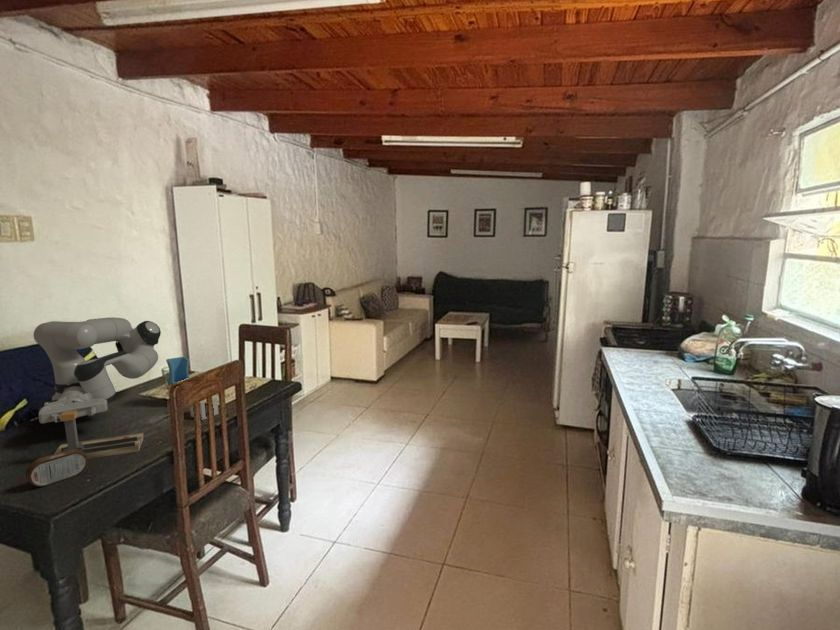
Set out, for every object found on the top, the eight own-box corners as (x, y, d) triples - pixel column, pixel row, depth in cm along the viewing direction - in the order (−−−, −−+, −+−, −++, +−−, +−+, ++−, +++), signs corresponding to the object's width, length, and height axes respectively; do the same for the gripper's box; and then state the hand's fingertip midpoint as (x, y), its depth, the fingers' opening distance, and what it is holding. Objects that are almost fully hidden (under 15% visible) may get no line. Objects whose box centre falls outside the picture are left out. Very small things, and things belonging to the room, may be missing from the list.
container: (219, 414, 196) (216, 383, 194) (202, 420, 190) (199, 389, 188) (207, 410, 200) (204, 381, 198) (190, 416, 194) (187, 386, 192)
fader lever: (66, 450, 159) (61, 412, 157) (84, 448, 161) (79, 409, 158) (63, 455, 156) (57, 415, 153) (81, 452, 157) (76, 413, 155)
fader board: (61, 449, 164) (60, 441, 164) (143, 437, 174) (142, 429, 173) (50, 465, 154) (48, 455, 153) (138, 451, 163) (137, 442, 162)
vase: (173, 407, 204) (169, 362, 201) (169, 403, 210) (165, 359, 207) (193, 403, 209) (189, 359, 206) (188, 399, 215) (184, 356, 212)
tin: (87, 469, 151) (84, 444, 149) (90, 472, 149) (87, 447, 147) (27, 489, 139) (23, 462, 138) (30, 492, 137) (26, 465, 136)
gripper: (108, 407, 184) (110, 418, 173) (41, 420, 173) (39, 432, 162) (106, 392, 183) (108, 401, 172) (38, 403, 172) (36, 414, 160)
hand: (74, 416), depth 167 cm, fingers open, 8 cm apart
